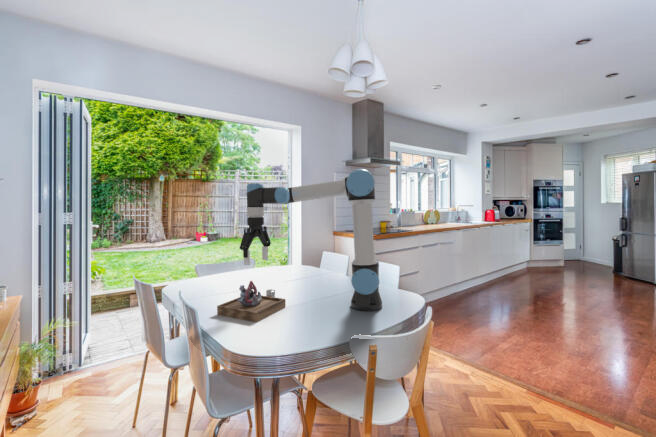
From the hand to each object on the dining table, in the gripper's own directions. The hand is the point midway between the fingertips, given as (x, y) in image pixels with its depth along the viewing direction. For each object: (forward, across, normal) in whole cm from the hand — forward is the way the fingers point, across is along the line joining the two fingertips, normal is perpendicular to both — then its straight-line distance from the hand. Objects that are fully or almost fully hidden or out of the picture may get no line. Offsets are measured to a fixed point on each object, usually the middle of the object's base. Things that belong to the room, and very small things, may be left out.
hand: (256, 262), depth 151 cm
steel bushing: (+23, -15, -3) cm, 27 cm away
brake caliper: (+20, +2, -3) cm, 20 cm away
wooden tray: (+23, +2, -2) cm, 23 cm away
